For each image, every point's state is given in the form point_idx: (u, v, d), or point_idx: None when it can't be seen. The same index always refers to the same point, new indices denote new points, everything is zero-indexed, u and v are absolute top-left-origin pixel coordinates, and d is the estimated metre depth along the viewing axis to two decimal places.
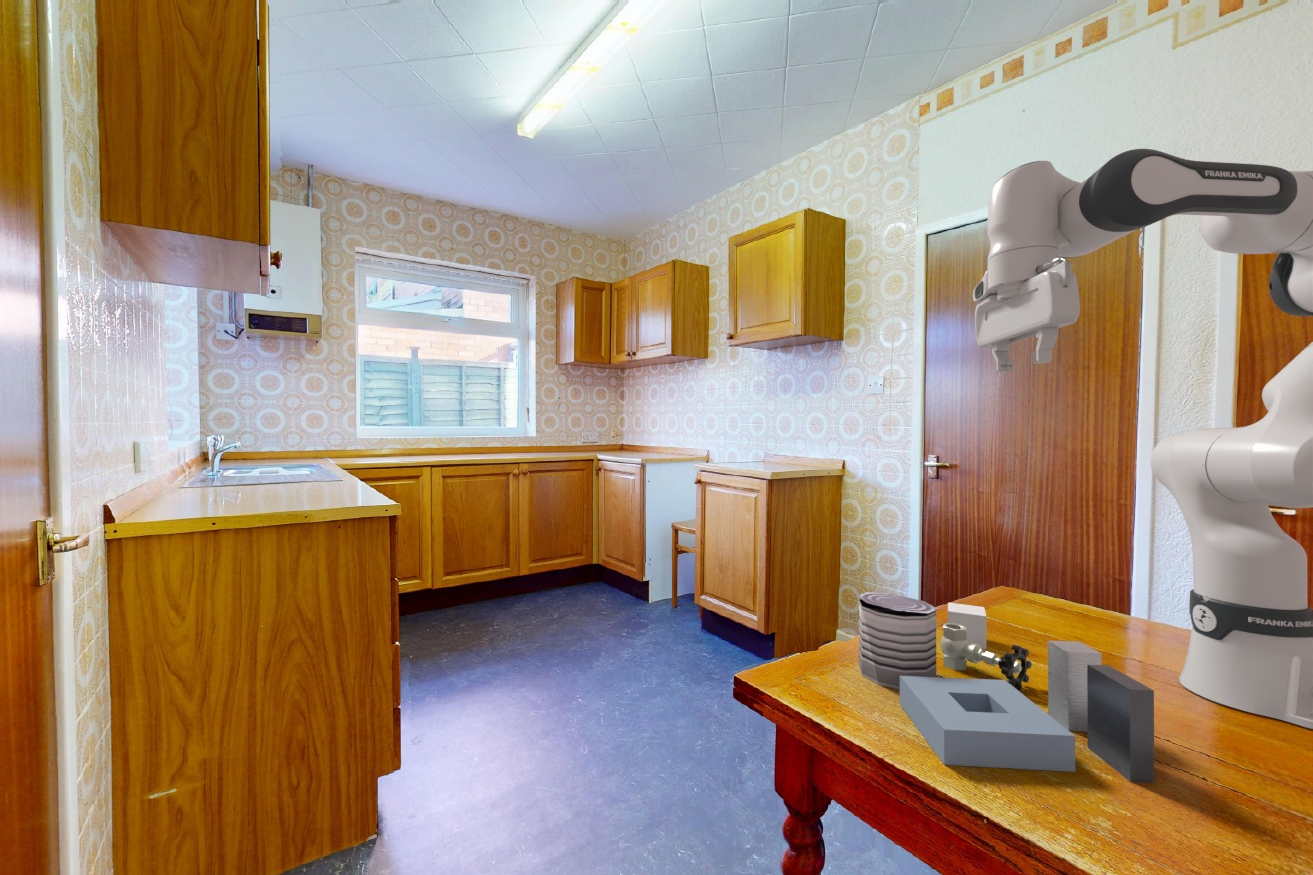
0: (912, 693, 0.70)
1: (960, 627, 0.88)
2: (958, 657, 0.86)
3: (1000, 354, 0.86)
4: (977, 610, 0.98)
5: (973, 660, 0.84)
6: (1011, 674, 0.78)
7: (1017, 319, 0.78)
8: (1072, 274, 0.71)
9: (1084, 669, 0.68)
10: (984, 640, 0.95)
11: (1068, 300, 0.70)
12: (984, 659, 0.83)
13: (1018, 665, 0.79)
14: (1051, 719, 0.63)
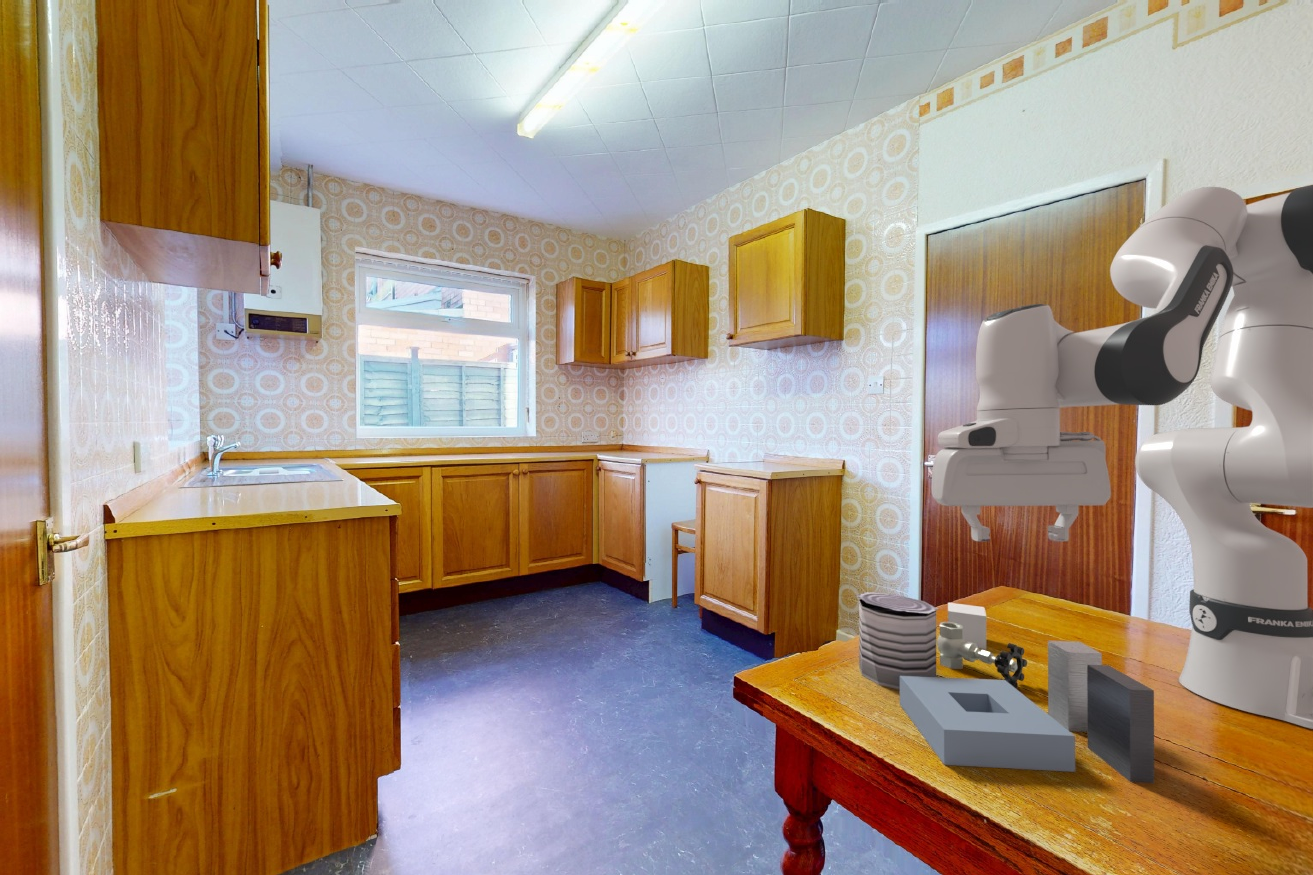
0: (912, 693, 0.70)
1: (956, 626, 0.89)
2: (954, 656, 0.87)
3: None
4: (977, 610, 0.98)
5: (969, 658, 0.85)
6: (1007, 672, 0.79)
7: (1043, 488, 0.67)
8: None
9: (1084, 669, 0.68)
10: (984, 640, 0.95)
11: None
12: (980, 657, 0.83)
13: (1014, 663, 0.80)
14: (1051, 719, 0.63)
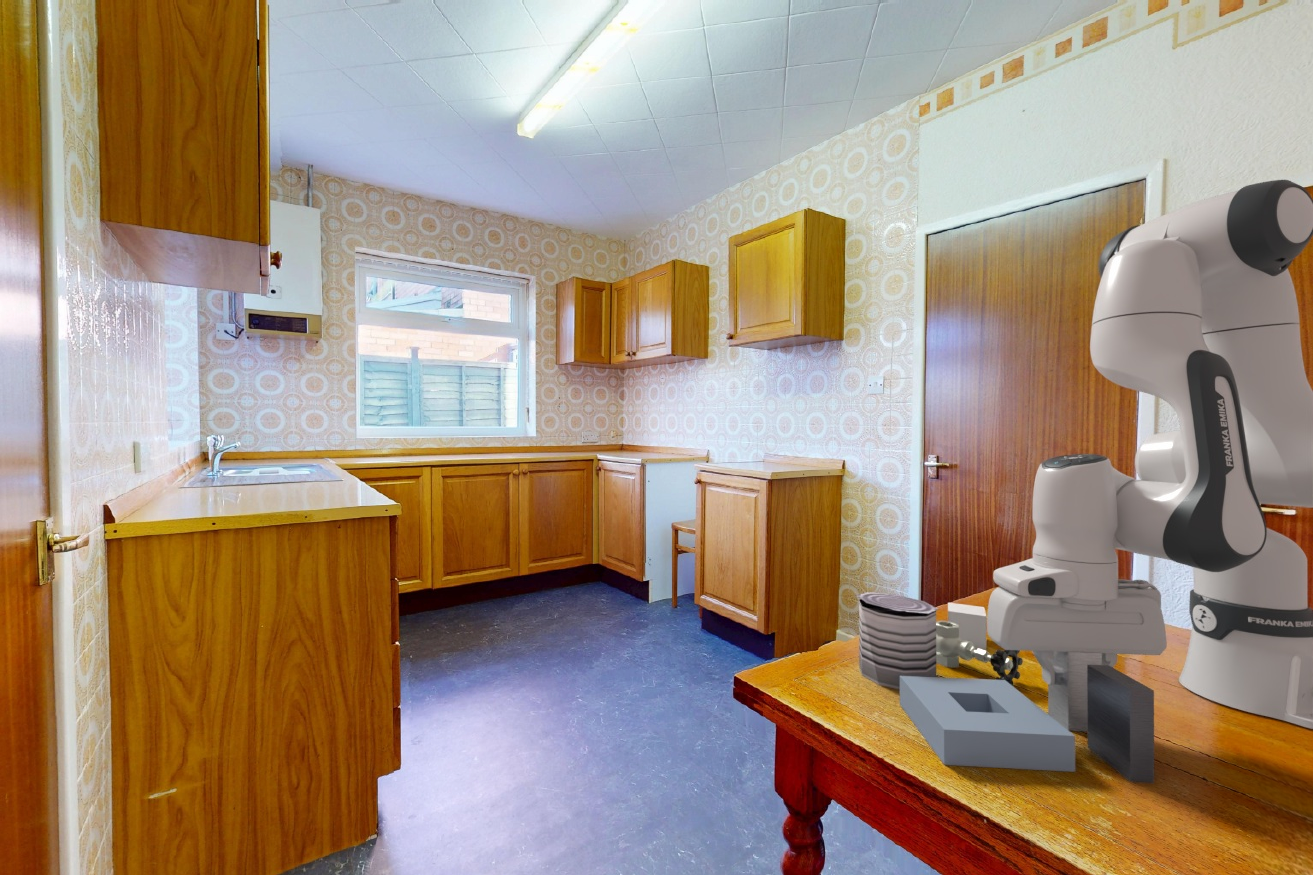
0: (912, 693, 0.70)
1: (952, 625, 0.89)
2: (951, 654, 0.87)
3: None
4: (977, 610, 0.98)
5: (965, 657, 0.85)
6: (1003, 671, 0.79)
7: (1100, 636, 0.68)
8: None
9: (1084, 669, 0.68)
10: (984, 640, 0.95)
11: None
12: (976, 656, 0.84)
13: (1009, 662, 0.80)
14: (1051, 719, 0.63)
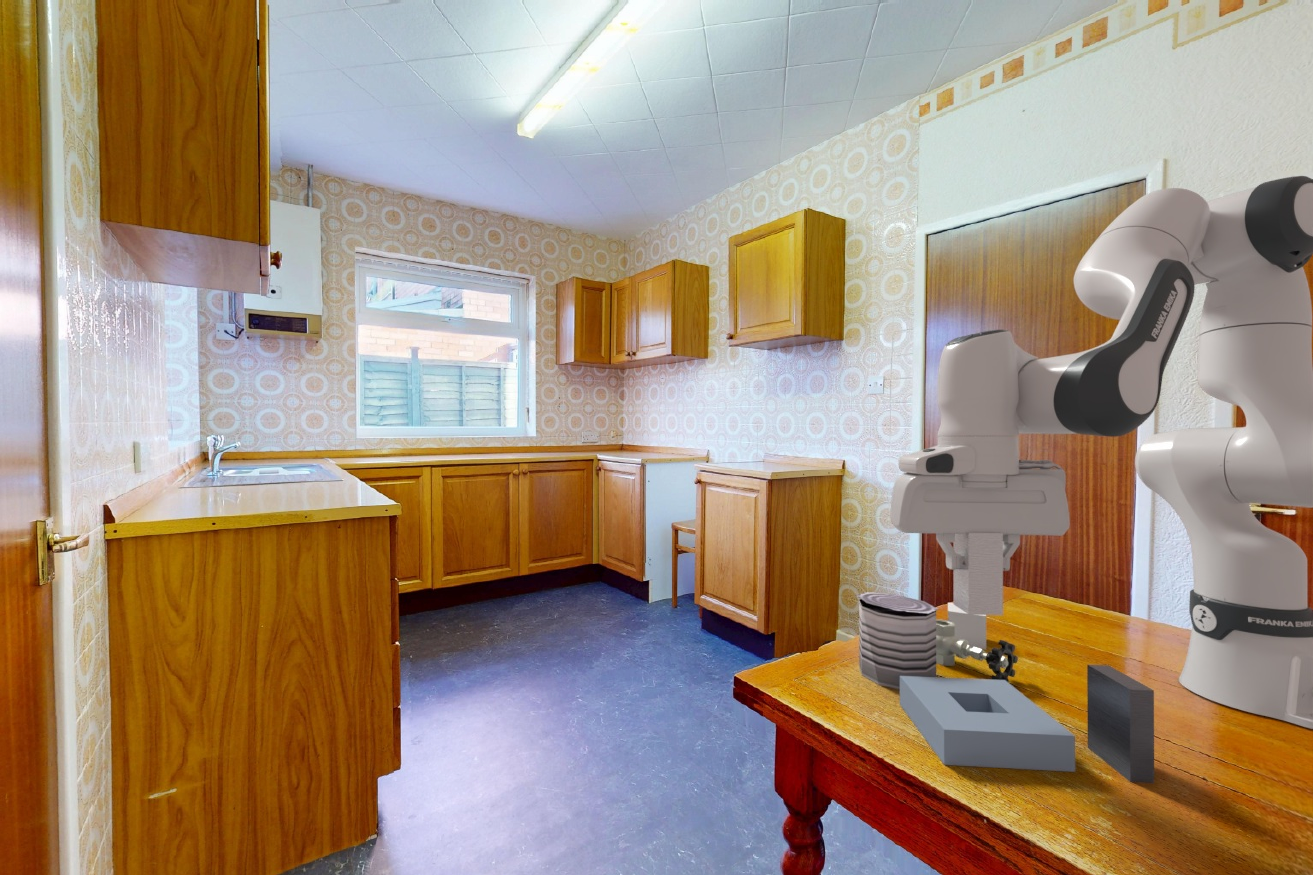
0: (912, 693, 0.70)
1: (948, 623, 0.90)
2: (946, 653, 0.88)
3: None
4: None
5: (961, 655, 0.86)
6: (998, 669, 0.80)
7: (1001, 516, 0.65)
8: None
9: (985, 550, 0.65)
10: (984, 640, 0.95)
11: None
12: (972, 654, 0.85)
13: (1005, 660, 0.81)
14: (1051, 719, 0.63)
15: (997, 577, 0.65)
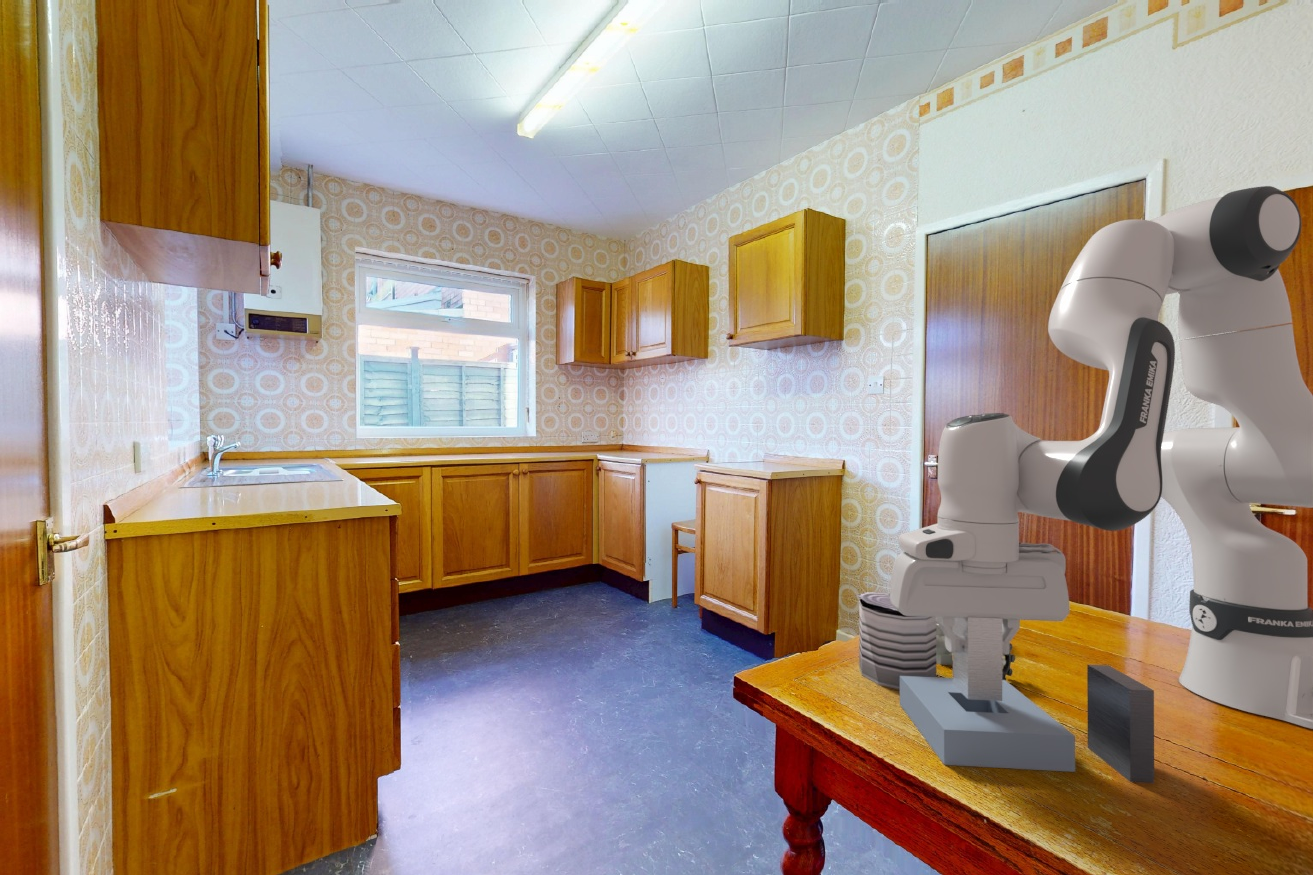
0: (912, 693, 0.70)
1: None
2: (944, 652, 0.88)
3: None
4: None
5: None
6: None
7: (1001, 601, 0.65)
8: None
9: (984, 635, 0.65)
10: None
11: None
12: None
13: (1002, 659, 0.81)
14: (1051, 719, 0.63)
15: (996, 662, 0.65)
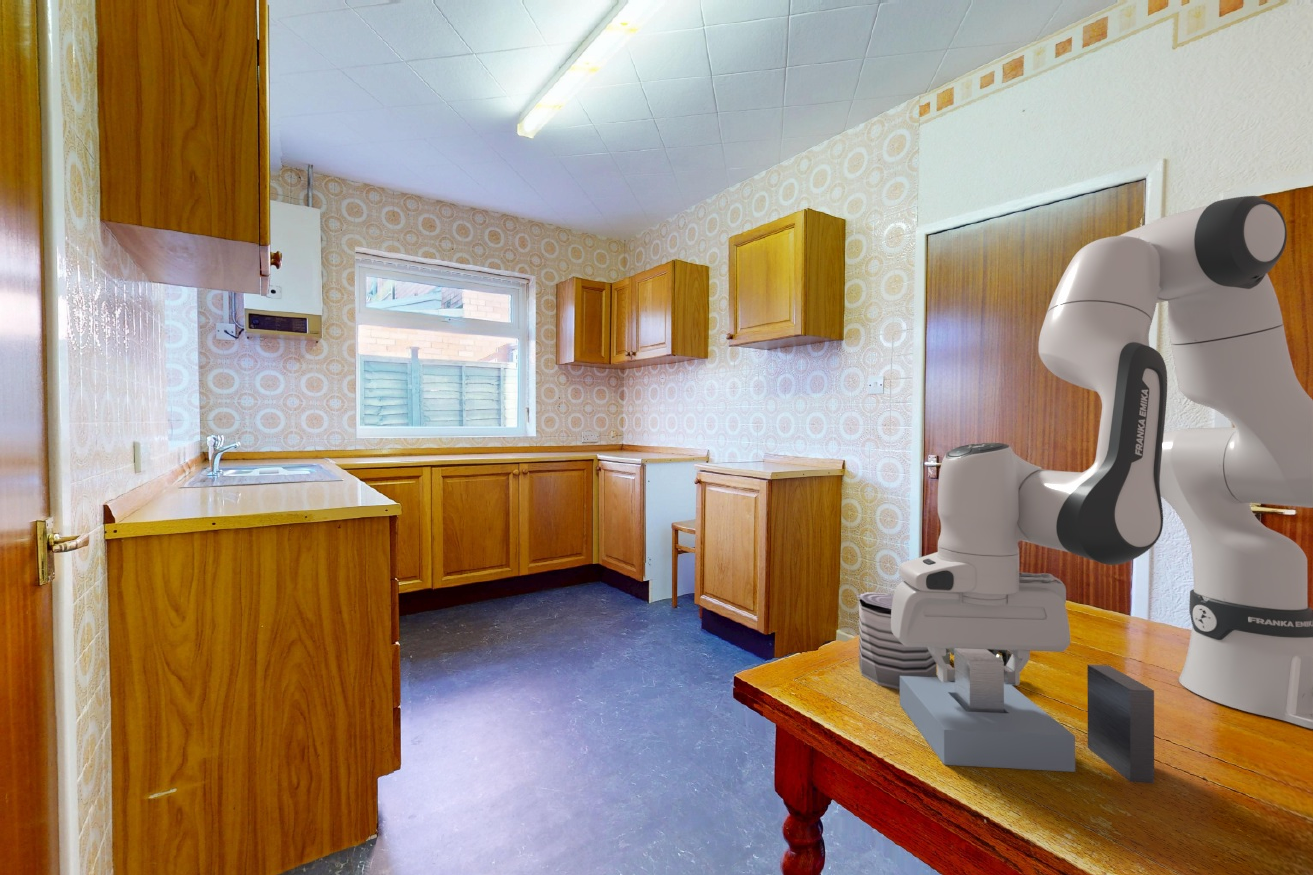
0: (912, 693, 0.70)
1: None
2: None
3: None
4: None
5: None
6: None
7: (1002, 632, 0.65)
8: None
9: (986, 678, 0.65)
10: None
11: None
12: None
13: (999, 658, 0.82)
14: (1051, 719, 0.63)
15: (998, 705, 0.65)
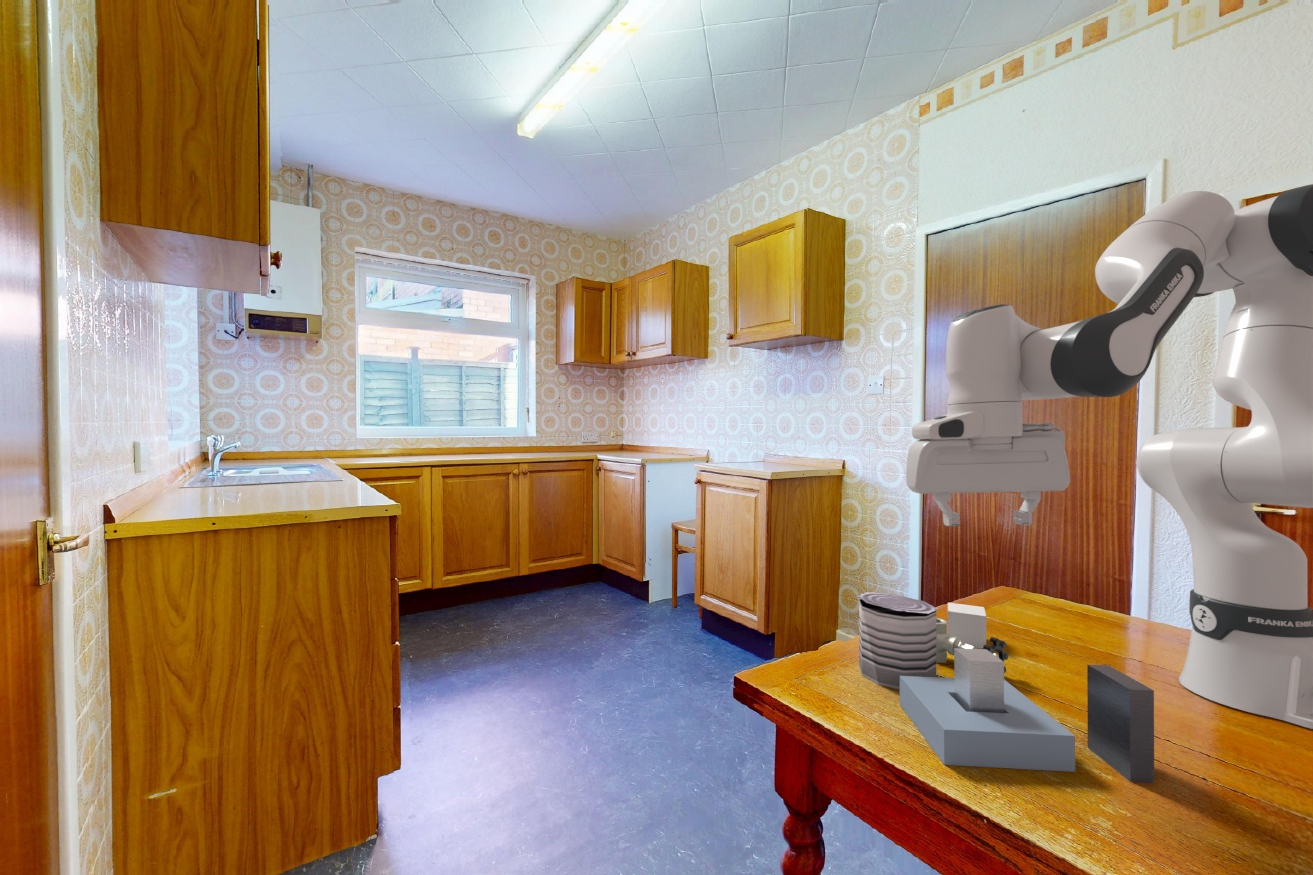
0: (912, 693, 0.70)
1: (941, 621, 0.91)
2: (939, 650, 0.89)
3: None
4: (977, 610, 0.98)
5: (953, 652, 0.87)
6: None
7: (1008, 475, 0.72)
8: None
9: (986, 679, 0.65)
10: (984, 640, 0.95)
11: None
12: None
13: (996, 656, 0.82)
14: (1051, 719, 0.63)
15: (998, 706, 0.65)
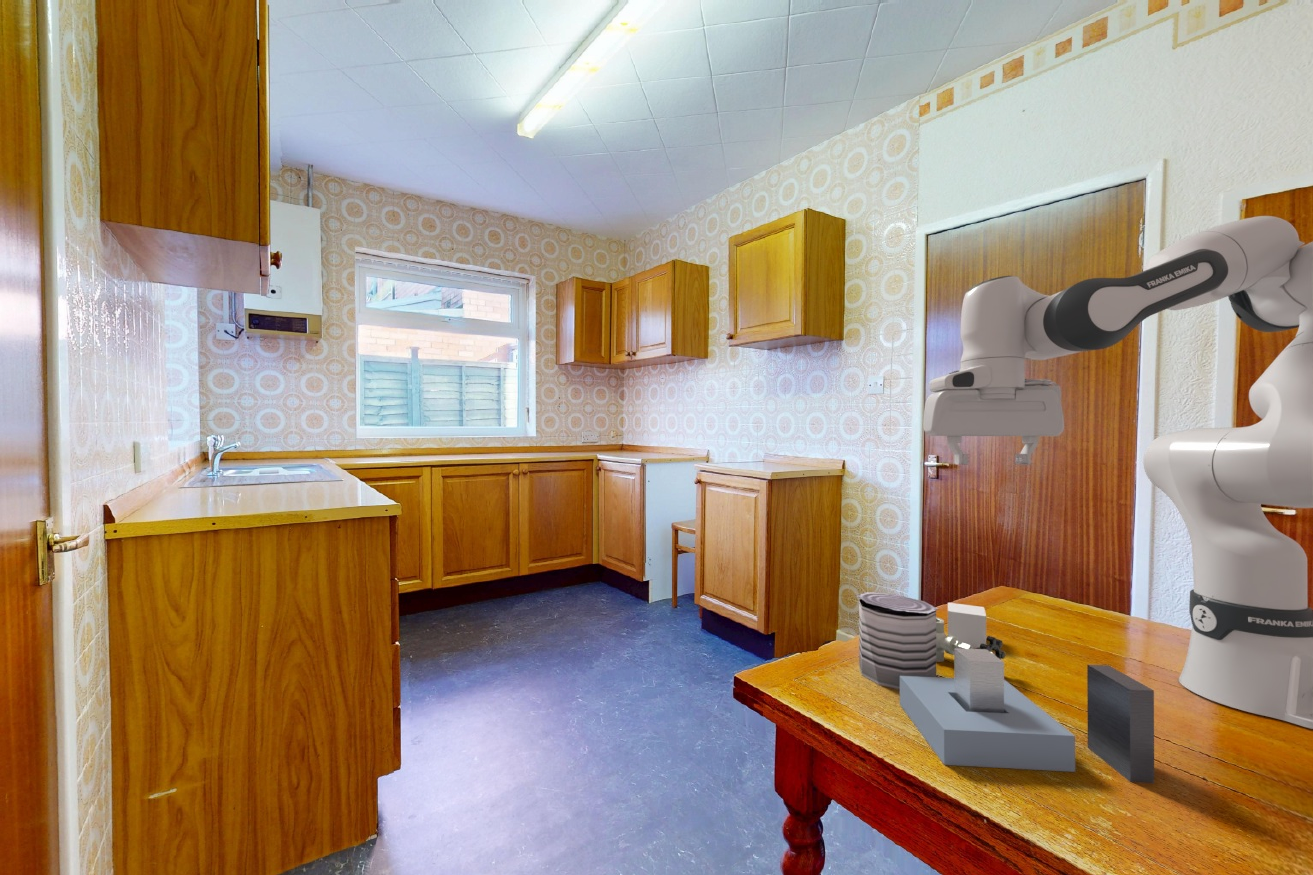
0: (912, 693, 0.70)
1: (938, 620, 0.92)
2: (936, 649, 0.89)
3: None
4: (977, 610, 0.98)
5: (950, 651, 0.87)
6: None
7: (1011, 421, 0.84)
8: None
9: (986, 679, 0.65)
10: (984, 640, 0.95)
11: None
12: None
13: None
14: (1051, 719, 0.63)
15: (998, 706, 0.65)
